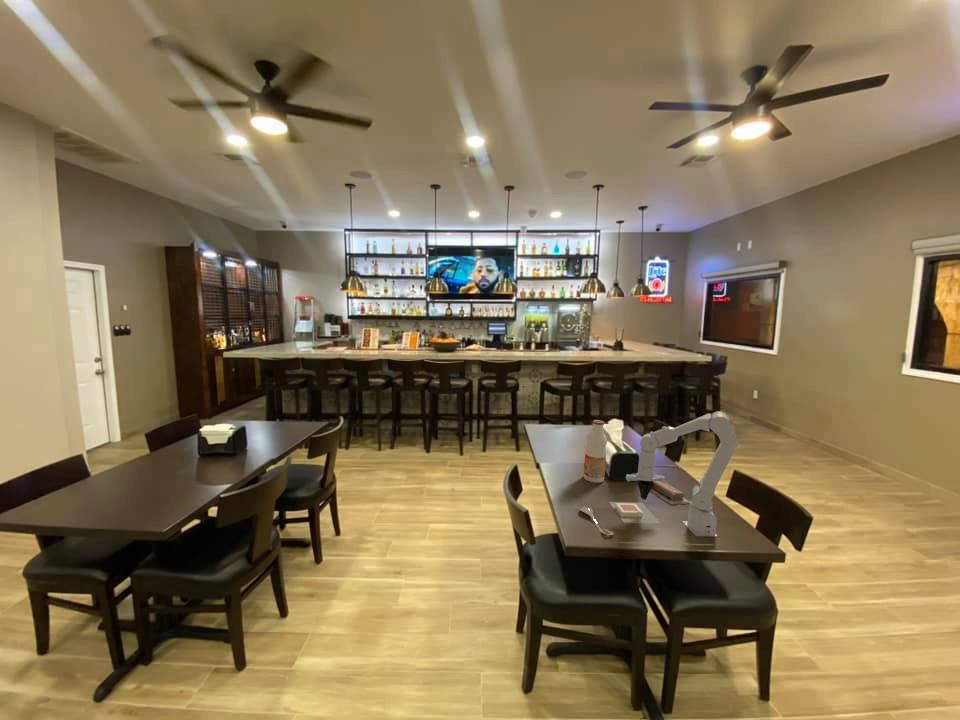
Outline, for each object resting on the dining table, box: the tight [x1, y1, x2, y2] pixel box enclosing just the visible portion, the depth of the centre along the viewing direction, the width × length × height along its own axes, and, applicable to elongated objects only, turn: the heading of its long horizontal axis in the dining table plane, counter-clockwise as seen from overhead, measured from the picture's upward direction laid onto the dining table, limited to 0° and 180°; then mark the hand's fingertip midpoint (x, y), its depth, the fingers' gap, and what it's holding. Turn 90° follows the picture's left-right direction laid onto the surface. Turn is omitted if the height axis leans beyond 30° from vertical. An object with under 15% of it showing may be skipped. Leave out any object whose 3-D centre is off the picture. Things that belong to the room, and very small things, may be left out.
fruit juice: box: [582, 419, 608, 484], centre depth 184 cm, size 9×9×28 cm
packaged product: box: [649, 481, 691, 506], centre depth 172 cm, size 18×5×10 cm
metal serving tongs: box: [579, 506, 615, 536], centre depth 146 cm, size 20×4×5 cm
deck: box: [615, 503, 643, 517], centre depth 155 cm, size 7×2×8 cm
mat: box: [608, 501, 662, 525], centre depth 155 cm, size 16×14×1 cm
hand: (643, 498), depth 154 cm, fingers closed
